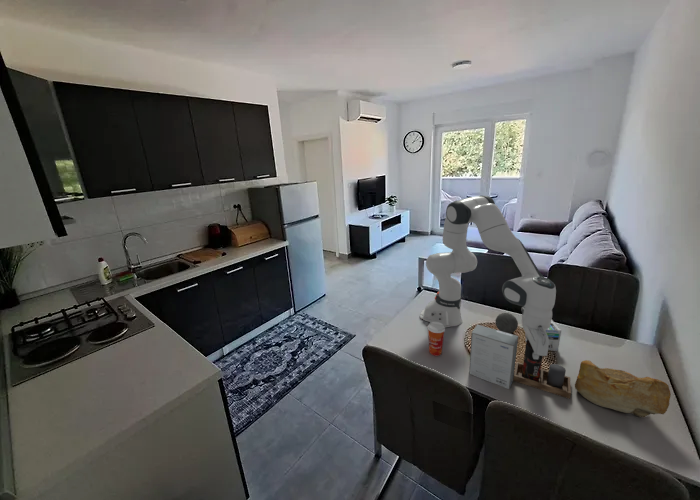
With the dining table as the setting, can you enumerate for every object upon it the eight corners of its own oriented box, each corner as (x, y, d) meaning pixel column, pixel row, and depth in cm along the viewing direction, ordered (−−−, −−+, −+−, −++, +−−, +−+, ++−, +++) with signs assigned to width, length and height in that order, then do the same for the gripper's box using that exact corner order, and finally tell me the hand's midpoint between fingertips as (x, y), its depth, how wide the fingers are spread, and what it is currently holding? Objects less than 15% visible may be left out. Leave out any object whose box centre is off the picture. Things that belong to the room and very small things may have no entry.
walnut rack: (513, 381, 116) (513, 375, 115) (515, 367, 124) (516, 361, 123) (569, 400, 106) (570, 393, 105) (568, 383, 114) (570, 377, 113)
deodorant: (529, 370, 121) (534, 339, 116) (542, 380, 115) (548, 347, 111) (518, 374, 119) (522, 342, 115) (530, 384, 114) (535, 351, 109)
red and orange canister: (423, 352, 136) (424, 326, 132) (431, 344, 142) (432, 319, 137) (439, 359, 131) (440, 332, 127) (447, 351, 136) (448, 324, 132)
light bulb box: (558, 351, 132) (562, 330, 129) (541, 350, 133) (545, 329, 130) (548, 337, 142) (551, 317, 139) (532, 336, 143) (535, 317, 140)
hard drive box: (514, 379, 118) (519, 336, 112) (509, 390, 112) (514, 346, 106) (474, 363, 127) (477, 323, 121) (467, 373, 122) (471, 332, 116)
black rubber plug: (546, 387, 112) (549, 370, 109) (546, 379, 116) (549, 362, 113) (562, 392, 109) (565, 374, 107) (562, 383, 113) (565, 366, 111)
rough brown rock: (662, 406, 103) (671, 368, 99) (663, 434, 91) (674, 392, 88) (579, 376, 119) (585, 343, 116) (571, 398, 107) (577, 361, 104)
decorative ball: (498, 324, 155) (500, 307, 152) (519, 330, 148) (521, 313, 145) (491, 332, 149) (493, 314, 146) (512, 339, 142) (515, 321, 139)
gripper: (556, 336, 99) (549, 369, 104) (538, 306, 118) (533, 335, 122) (535, 334, 101) (529, 367, 105) (520, 305, 119) (516, 334, 124)
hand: (531, 350), depth 114 cm, fingers open, 8 cm apart
